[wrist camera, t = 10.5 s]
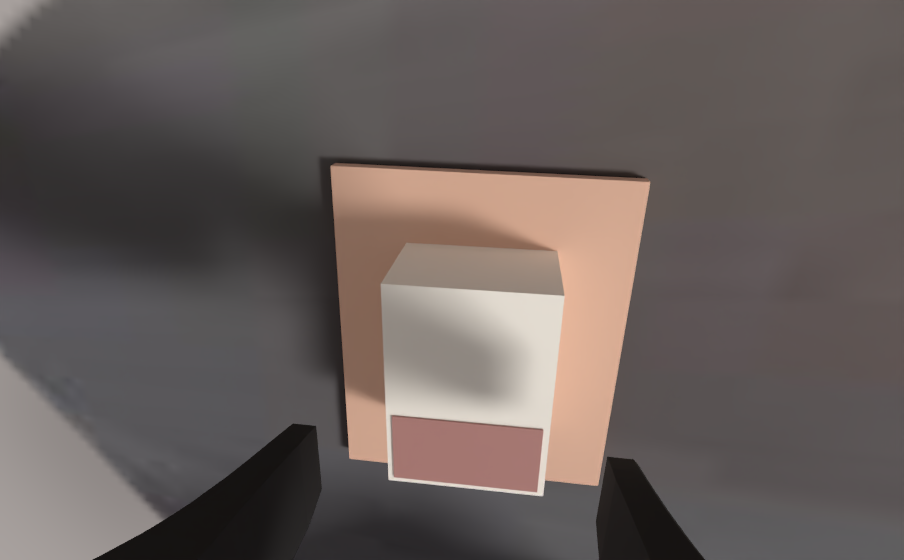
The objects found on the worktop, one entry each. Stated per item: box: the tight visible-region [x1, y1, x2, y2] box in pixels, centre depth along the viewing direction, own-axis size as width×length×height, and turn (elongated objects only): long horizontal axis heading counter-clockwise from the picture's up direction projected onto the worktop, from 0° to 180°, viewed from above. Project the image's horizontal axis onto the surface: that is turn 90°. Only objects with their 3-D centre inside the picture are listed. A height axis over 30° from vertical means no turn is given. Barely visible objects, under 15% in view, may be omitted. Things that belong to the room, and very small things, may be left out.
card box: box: [381, 243, 565, 496], centre depth 17 cm, size 5×7×4 cm
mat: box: [331, 163, 650, 486], centre depth 19 cm, size 12×10×1 cm
